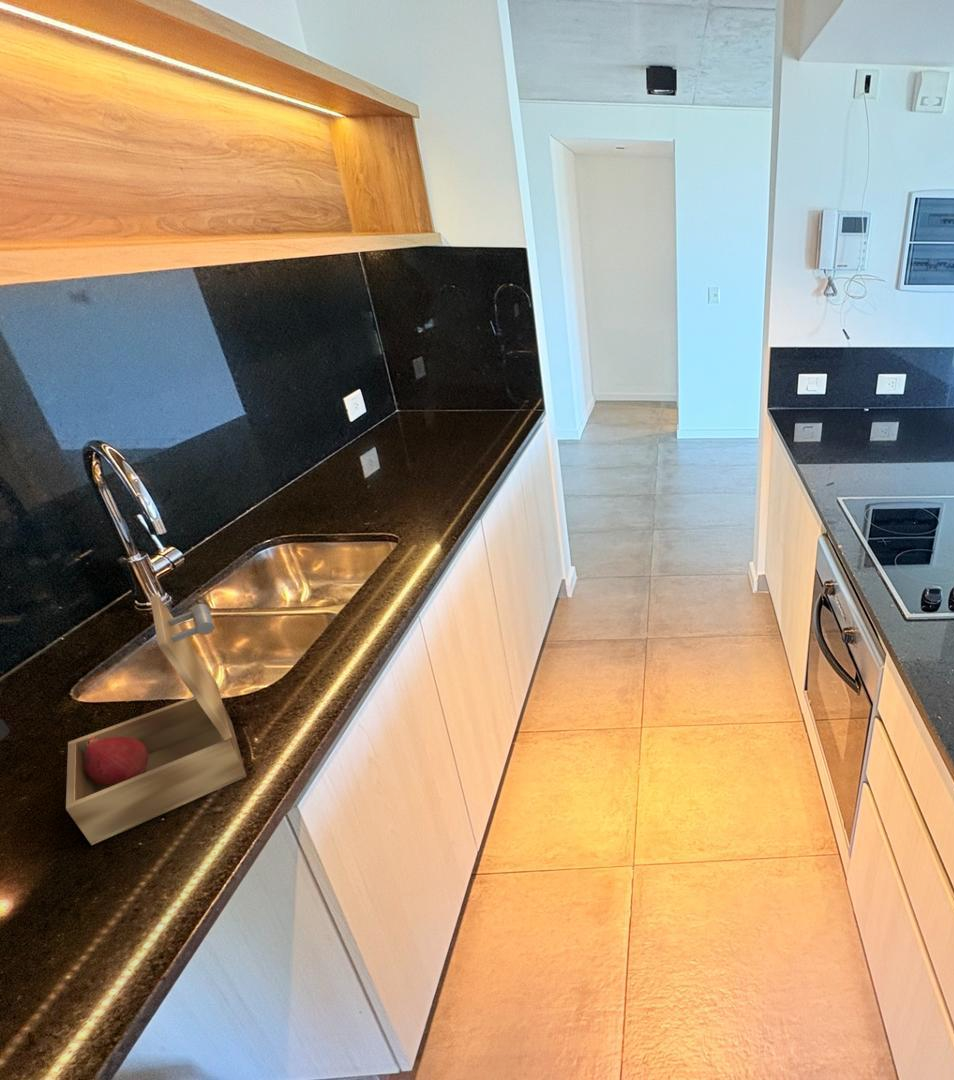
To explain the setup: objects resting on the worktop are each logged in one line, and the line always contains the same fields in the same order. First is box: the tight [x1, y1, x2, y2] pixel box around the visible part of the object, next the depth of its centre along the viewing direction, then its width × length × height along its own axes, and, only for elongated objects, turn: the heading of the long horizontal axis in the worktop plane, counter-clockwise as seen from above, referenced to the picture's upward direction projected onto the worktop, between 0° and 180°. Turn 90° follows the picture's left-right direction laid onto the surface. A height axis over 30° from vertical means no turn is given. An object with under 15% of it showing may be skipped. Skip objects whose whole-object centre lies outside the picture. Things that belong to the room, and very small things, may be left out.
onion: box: [84, 736, 148, 785], centre depth 80 cm, size 6×6×8 cm
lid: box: [149, 593, 232, 740], centre depth 81 cm, size 16×14×5 cm
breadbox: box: [65, 696, 247, 846], centre depth 82 cm, size 16×14×7 cm
